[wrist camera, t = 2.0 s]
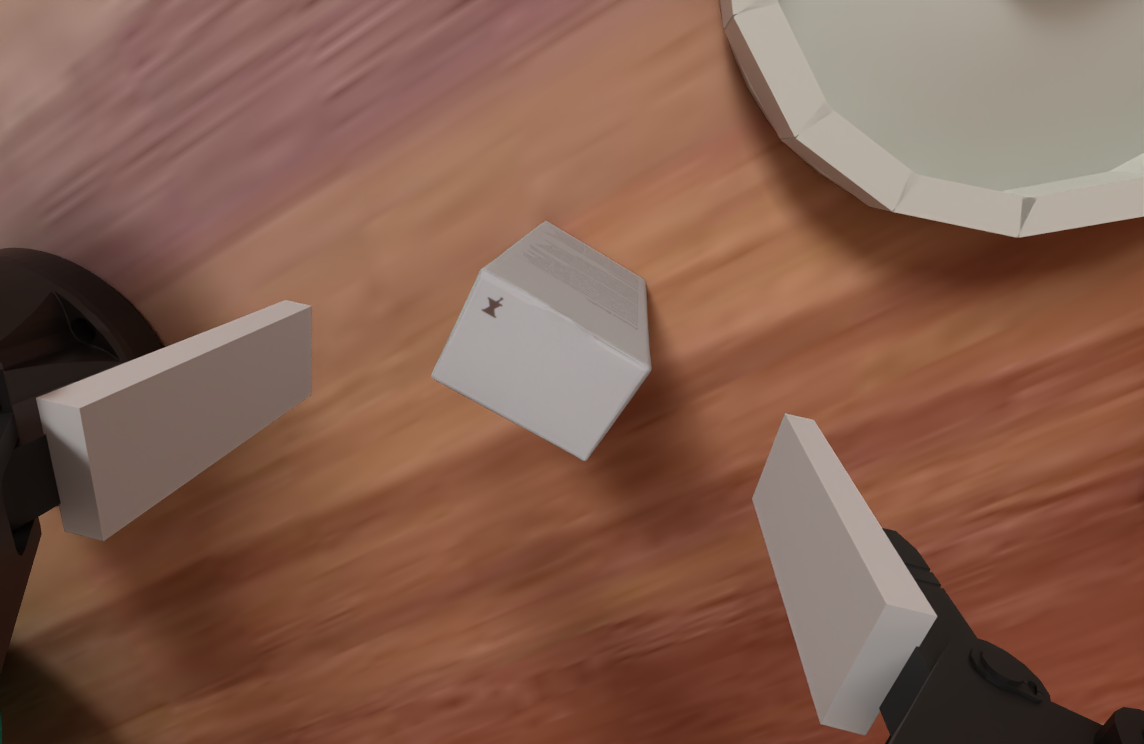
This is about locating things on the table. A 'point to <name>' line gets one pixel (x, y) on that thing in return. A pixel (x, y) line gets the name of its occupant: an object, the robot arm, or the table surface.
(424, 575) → the table surface
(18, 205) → the table surface
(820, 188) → the table surface
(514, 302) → the skincare box
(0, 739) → the table top decor
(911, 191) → the ring tray
